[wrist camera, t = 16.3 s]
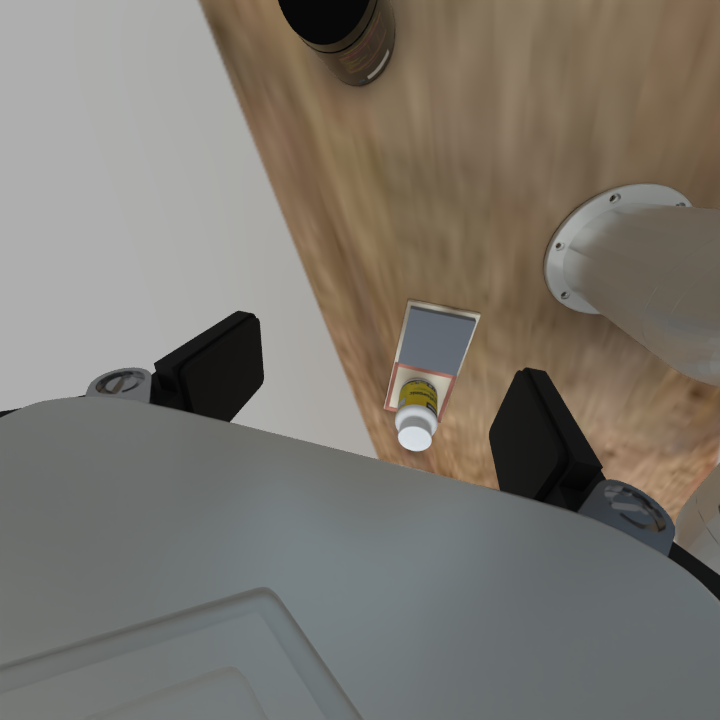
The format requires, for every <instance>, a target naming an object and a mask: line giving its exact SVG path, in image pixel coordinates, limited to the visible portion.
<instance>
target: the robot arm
mask: <svg viewBox="0 0 720 720" xmlns="http://www.w3.org/2000/svg"><path fill="white" fill-rule="evenodd" d="M612 195H613V199H612V200H611V201H609V200H610V197H611V196H612ZM557 243H559V246H558V247H555V246H556V244H557ZM544 277H545V281H546V284H547V286H548V289H549V290H550V292H551V293H552V294H553V296H554V297H555V298H556V299H557V300H558V301H559V302H560V303H562V304H563V305H565V306H566V307H568V308H570V309H573V310H575V311H578V312H582V313H587V314H602V315H604V316H605V317H606V318H608V319H609V320H610V321H611V322H613V323H614V324H615V325H617V326H618V327H619V328H621V329H622V330H623V331H624V332H626V333H627V334H628V335H630V336H631V337H632V338H634V339H635V340H636V341H637V342H639V343H640V344H641V345H643V346H644V347H645V348H646V349H648V350H649V351H650V352H652V353H653V354H654V355H656V356H657V357H658V358H660V359H661V360H663V361H664V362H665V363H667V364H668V365H669V366H671V367H672V368H673V369H675V370H677V371H678V372H680V373H682V374H683V375H685V376H688V377H690V378H692V379H694V380H697V381H699V382H703V383H706V384H710V385H713V386H717V387H720V209H709V208H697V207H693V206H692V204H691V202H690V201H689V200H688V199H687V198H686V197H685V196H684V195H683V194H682V193H680V192H678V191H676V190H674V189H672V188H670V187H667V186H663V185H659V184H629V185H625V186H621V187H617V188H613V189H611V190H608V191H606V192H603V193H601V194H598V195H597V196H595V197H593V198H592V199H590V200H588V201H586V202H585V203H583V204H582V205H581V206H580V207H578V208H577V209H576V210H575V211H573V212H572V213H571V214H570V215H569V216H568V217H567V218H566V219H565V220H564V222H563V223H562V224H561V225H560V227H559V228H558V229H557V231H556V232H555V234H554V235H553V237H552V239H551V241H550V243H549V245H548V248H547V251H546V255H545V258H544ZM564 292H565V293H564ZM562 293H564V295H561V294H562ZM154 366H155V369H156V372H155V373H153V374H152V375H151V373H150V372H149V371H147V370H145V369H142V368H123V369H118V370H114V371H111V372H108V373H105V374H103V375H101V376H99V377H98V378H96V379H95V380H94V381H93V382H91V384H90V385H89V387H88V389H87V392H86V395H83V396H78V397H70V398H61V399H54V400H48V401H42V402H38V403H35V404H32V405H29V406H26V407H24V408H19V409H14V410H8V411H1V412H0V720H720V463H719V464H718V465H717V466H716V467H715V469H714V470H713V471H712V472H711V473H710V474H709V475H708V476H707V477H706V478H705V479H704V481H703V482H702V483H701V484H700V486H699V487H698V488H697V489H696V490H695V491H694V493H693V494H692V495H691V496H690V498H689V499H688V500H687V502H686V503H685V504H684V506H683V507H682V509H681V511H680V513H679V515H678V517H677V520H676V524H675V526H674V524H673V521H672V519H671V517H670V516H669V515H668V514H667V512H666V511H665V510H664V509H663V508H662V507H661V506H660V505H659V504H658V503H657V502H656V501H655V500H654V499H652V498H651V497H650V496H648V495H647V494H645V493H644V492H643V491H641V490H639V489H637V488H635V487H633V486H632V485H629V484H627V483H624V482H621V481H617V480H612V479H608V480H606V478H605V477H604V475H603V473H602V472H601V469H602V468H603V467H602V465H601V463H600V462H599V460H598V458H597V457H596V455H595V453H594V452H593V450H592V448H591V447H590V445H589V443H588V441H587V440H586V438H585V436H584V435H583V433H582V431H581V430H580V428H579V426H578V425H577V423H576V421H575V420H574V418H573V416H572V415H571V413H570V411H569V409H568V408H567V406H566V404H565V403H564V401H563V399H562V398H561V396H560V394H559V393H558V391H557V389H556V388H555V386H554V384H553V383H552V381H551V379H550V378H549V376H548V374H547V373H546V372H545V371H542V370H537V369H532V368H527V367H526V368H524V370H523V371H520V370H519V371H517V373H516V374H515V376H514V379H513V381H512V383H511V385H510V387H509V389H508V391H507V394H506V396H505V398H504V400H503V402H502V404H501V406H500V409H499V411H498V413H497V415H496V417H495V419H494V422H493V424H492V426H491V428H490V431H489V440H490V445H491V450H492V454H493V459H494V464H495V469H496V473H497V478H498V483H499V488H500V490H496V489H492V488H488V487H484V486H481V485H477V484H473V483H469V482H465V481H461V480H457V479H453V478H449V477H445V476H442V475H438V474H434V473H430V472H426V471H422V470H418V469H414V468H410V467H406V466H402V465H398V464H394V463H390V462H386V461H382V460H378V459H374V458H370V457H366V456H362V455H358V454H354V453H350V452H346V451H342V450H338V449H334V448H330V447H326V446H322V445H318V444H314V443H311V442H307V441H302V440H298V439H294V438H291V437H287V436H282V435H279V434H275V433H271V432H266V431H263V430H259V429H255V428H251V427H247V426H242V425H239V424H235V423H230V421H231V420H232V419H233V418H234V417H235V415H236V414H237V413H238V412H239V411H240V410H241V408H242V407H243V406H244V405H245V404H246V403H247V402H248V401H249V399H250V398H251V397H252V396H253V395H254V394H255V392H256V391H257V390H258V389H259V388H260V387H261V385H262V384H263V380H264V370H263V358H262V346H261V332H260V321H259V319H258V318H256V316H255V315H254V314H252V313H247V312H243V311H237V312H235V313H233V314H232V315H230V316H228V317H227V318H225V319H224V320H222V321H221V322H219V323H217V324H216V325H214V326H213V327H211V328H210V329H208V330H206V331H205V332H203V333H201V334H200V335H198V336H197V337H195V338H194V339H192V340H190V341H189V342H187V343H185V344H184V345H182V346H181V347H179V348H178V349H176V350H174V351H173V352H171V353H170V354H168V355H166V356H165V357H163V358H162V359H160V360H158V361H157V362H155V363H154ZM674 536H675V542H673V539H674Z"/></svg>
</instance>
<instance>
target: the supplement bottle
mask: <svg viewBox="0 0 720 720" xmlns="http://www.w3.org/2000/svg"><path fill="white" fill-rule="evenodd" d="M437 423H438V396H437V390H436V388H435V387H434V385H433V384H432V383H430V382H429V381H427V380H424V379H419V378H417V379H411V380H409V381H407V382H406V383H405V384H404V385H403V386H402V388H401V391H400V395H399V401H398V407H397V412H396V418H395V424H396V428H397V430H398V431H399V434H398V439H399V442H400V444H401V445H402V446H403V447H405V448H407V449H409V450H412V451H422V450H425V449H426V448H428V447H429V446H430V444H431V441H432V435H433V434H434V433H435V431H436V429H437Z"/></svg>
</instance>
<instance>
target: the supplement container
mask: <svg viewBox="0 0 720 720" xmlns="http://www.w3.org/2000/svg"><path fill="white" fill-rule="evenodd" d="M278 2H279V5H280V7H281V10H282V12H283V14H284V16H285V18H286V20H287V21H288V23H289V24H290V26H291V27H292V29H293V30H294V31H295V32H296V33H297V34H298V35H299V37H300V38H301V39H302V40H303V42H304V43H305V44H307V45H308V46H309V47H310V48H311V49H312V50H313V51H314V52H315V53H316V54H317V55H318V57H319V58H320V59H321V60H322V61H323V62H324V63H325V64H326V65H327V66H328V68H329V69H330V70H331V71H332V72H333V73H334V74H335V75H336V76H337V77H338V78H339V79H340V80H341V81H343V82H345V83H347V84H349V85H355V86H357V85H364V84H366V83H369V82H370V81H372V80H373V79H375V78H376V77H377V76H378V75H379V74H380V73H381V72H382V70H383V69H384V67H385V66H386V64H387V62H388V60H389V58H390V55H391V52H392V49H393V44H394V38H395V21H394V15H393V11H392V7H391V3H390V0H278Z"/></svg>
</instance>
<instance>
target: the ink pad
mask: <svg viewBox="0 0 720 720" xmlns="http://www.w3.org/2000/svg"><path fill="white" fill-rule="evenodd" d="M475 324H476V320H475V318H471V317H466V316H461V315H456V314H452V313H447V312H442V311H437V310H432V309H427V308H422V307H417V306H412V305H411V308H410V312H409V317H408V321H407V325H406V329H405V334H404V338H403V342H402V347H401V351H400V355H399V360H398V363H401V364H405V365H410V366H414V367H418V368H423V369H427V370H432V371H436V372H441V373H445V374H449V375H454V376H457V373H458V370H459V367H460V365H461V362H462V359H463V357H464V354H465V351H466V348H467V346H468V343H469V340H470V338H471V335H472V332H473V329H474V327H475Z"/></svg>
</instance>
